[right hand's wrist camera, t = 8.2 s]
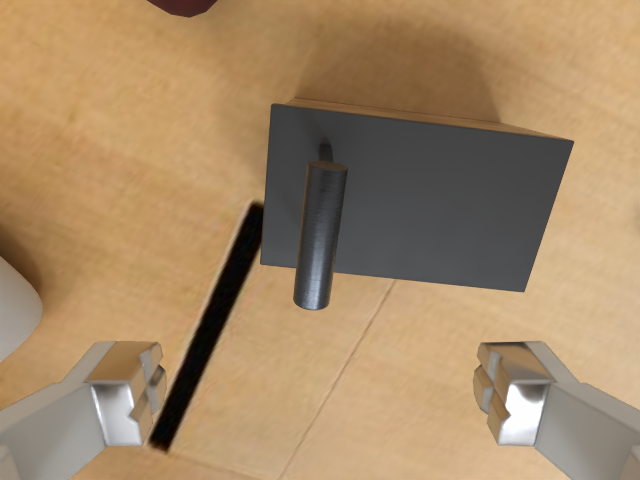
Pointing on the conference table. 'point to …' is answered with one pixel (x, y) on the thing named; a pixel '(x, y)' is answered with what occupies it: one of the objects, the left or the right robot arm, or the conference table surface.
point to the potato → (184, 6)
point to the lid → (404, 200)
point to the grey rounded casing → (16, 309)
